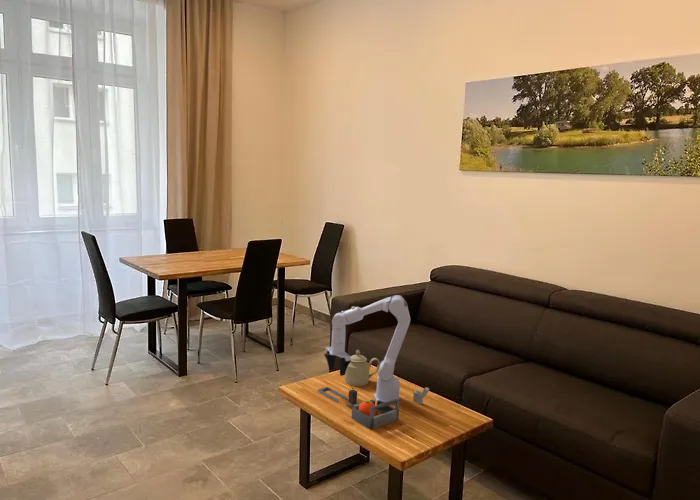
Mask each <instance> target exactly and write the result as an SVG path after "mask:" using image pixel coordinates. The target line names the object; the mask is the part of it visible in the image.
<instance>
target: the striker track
mask: <svg viewBox="0 0 700 500" xmlns="http://www.w3.org/2000/svg"><path fill="white" fill-rule="evenodd" d="M325 391H329V392H330V393H332V394H334V395H336V396H338V397H340V398H342V399H343V400H348V397H347V396H346V395H345V394H343V393H340V392H339V391H337V390H335V389H333V388H331V387H329V386H324V387H321V388H317V392H318V393H319V392H320V393H319V394H321V395H323V396H324V397H326V398H329V399H330V400H332V401H334V402H336V403H339V401H340V399H339V398H336V397H334V396H333V395H331V394H330V393H327V392H325Z"/></svg>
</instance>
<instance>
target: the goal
mask: <svg viewBox="0 0 700 500" xmlns="http://www.w3.org/2000/svg"><path fill="white" fill-rule="evenodd" d="M400 402H401V401H400V398H399V399H398V398H397V399H394V400H391V401H388V402H383V401H381V400H376V404H375V406H372V407H370V416H368V415H367V414H365V413H363V412H361V411H359V410H358V409H356V408H351V417H350V418H351V419H352V420H354V421H356V422H358V423H359V424H361V425H362V426H364V427H366V428H367V429H369V430H373V429H374V430H375V429H376V428H379V427H382V426H385V425H388V424H390V423H394V422H395V421H398V420H399V417H400ZM394 404H395V405H394ZM392 405H394V406H392ZM374 410H376V412H379V413H380V414H378V415H377V414H376V415H375V416H374Z"/></svg>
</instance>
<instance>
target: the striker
mask: <svg viewBox="0 0 700 500" xmlns="http://www.w3.org/2000/svg"><path fill="white" fill-rule="evenodd" d="M347 400H348V401H346V406H347V407H348V408H350V409H352V408H356V409H359V406H360V404H361V403H362V402H360V403H358V402H357V401H358V390H356V389H350V390H348V399H347ZM368 400H369V401H371V402H372V403H374V405H375V406H376V399H368Z"/></svg>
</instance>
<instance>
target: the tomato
mask: <svg viewBox="0 0 700 500" xmlns="http://www.w3.org/2000/svg"><path fill="white" fill-rule="evenodd" d="M369 400H370V399H366V400H364V401H362V402H360V403H361V404H360V403H359V404H360V406H359V409H358V410H359V411H361V412H363V413H365V414H367V415H368V416H370V407H372V406H376V404H375V405H374V403H372V402H371V401H369ZM376 413H377V409H376V410H374V416H376V415H377V414H376Z"/></svg>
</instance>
